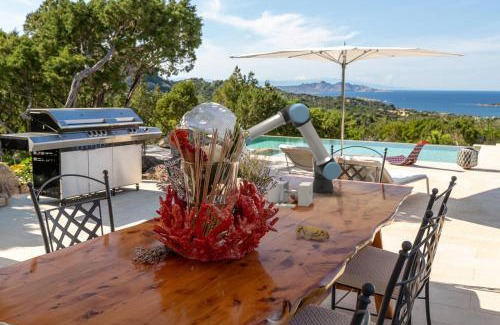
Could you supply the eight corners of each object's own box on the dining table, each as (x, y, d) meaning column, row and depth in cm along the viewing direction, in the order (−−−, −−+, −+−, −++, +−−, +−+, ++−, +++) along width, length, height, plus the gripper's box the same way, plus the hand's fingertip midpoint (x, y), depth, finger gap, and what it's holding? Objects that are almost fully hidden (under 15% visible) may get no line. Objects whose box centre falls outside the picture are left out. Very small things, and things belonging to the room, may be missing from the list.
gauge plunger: (277, 205, 268) (277, 185, 267) (285, 199, 285) (285, 180, 283) (294, 206, 265) (294, 186, 264) (301, 200, 282) (301, 181, 280)
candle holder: (283, 203, 276) (283, 183, 274) (267, 203, 276) (267, 183, 274) (282, 200, 286) (282, 180, 284) (266, 200, 286) (266, 180, 284)
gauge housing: (275, 206, 268) (275, 186, 266) (283, 200, 285) (283, 180, 284) (305, 208, 262) (306, 187, 260) (312, 202, 279) (312, 182, 278)
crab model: (334, 236, 209) (334, 224, 209) (324, 244, 198) (324, 231, 197) (302, 231, 217) (302, 220, 216) (291, 238, 206) (291, 226, 205)
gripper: (240, 167, 292) (265, 195, 289) (232, 170, 280) (258, 199, 277) (248, 159, 290) (273, 187, 287) (240, 161, 278) (267, 191, 274)
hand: (266, 193), depth 282 cm, fingers closed
